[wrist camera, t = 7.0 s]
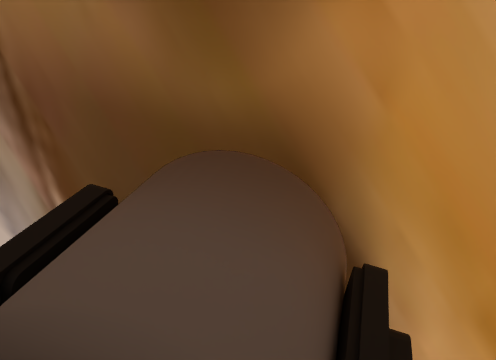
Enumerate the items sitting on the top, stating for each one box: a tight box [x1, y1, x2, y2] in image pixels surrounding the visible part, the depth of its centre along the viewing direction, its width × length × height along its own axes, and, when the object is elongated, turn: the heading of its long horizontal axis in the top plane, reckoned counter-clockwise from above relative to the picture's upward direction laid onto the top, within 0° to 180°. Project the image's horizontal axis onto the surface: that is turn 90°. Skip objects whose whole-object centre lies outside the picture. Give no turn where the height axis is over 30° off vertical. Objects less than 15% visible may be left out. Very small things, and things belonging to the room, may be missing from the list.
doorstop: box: [0, 150, 347, 360], centre depth 10 cm, size 6×6×6 cm
